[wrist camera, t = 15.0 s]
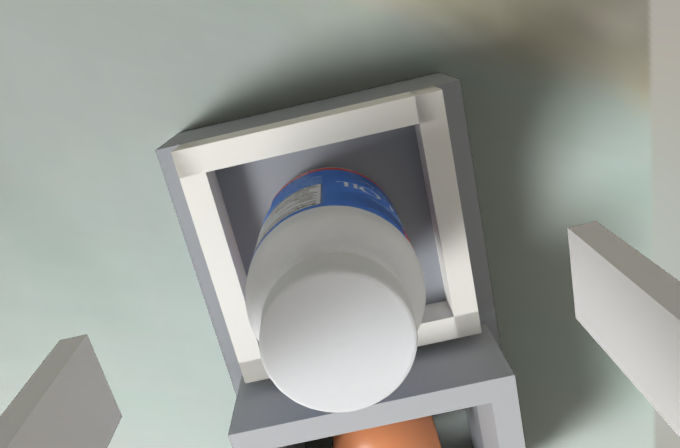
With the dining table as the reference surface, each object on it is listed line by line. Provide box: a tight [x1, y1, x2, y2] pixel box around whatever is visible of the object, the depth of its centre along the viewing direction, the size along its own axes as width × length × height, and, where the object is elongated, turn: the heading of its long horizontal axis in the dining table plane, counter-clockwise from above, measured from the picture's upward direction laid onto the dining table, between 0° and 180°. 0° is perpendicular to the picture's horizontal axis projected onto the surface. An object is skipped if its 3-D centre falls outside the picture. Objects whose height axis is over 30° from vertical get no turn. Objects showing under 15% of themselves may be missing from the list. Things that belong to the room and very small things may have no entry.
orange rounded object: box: [333, 415, 441, 448], centre depth 28 cm, size 5×5×4 cm
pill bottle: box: [245, 167, 426, 413], centre depth 19 cm, size 6×5×10 cm
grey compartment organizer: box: [155, 73, 525, 448], centre depth 26 cm, size 22×12×8 cm, turn 13°
